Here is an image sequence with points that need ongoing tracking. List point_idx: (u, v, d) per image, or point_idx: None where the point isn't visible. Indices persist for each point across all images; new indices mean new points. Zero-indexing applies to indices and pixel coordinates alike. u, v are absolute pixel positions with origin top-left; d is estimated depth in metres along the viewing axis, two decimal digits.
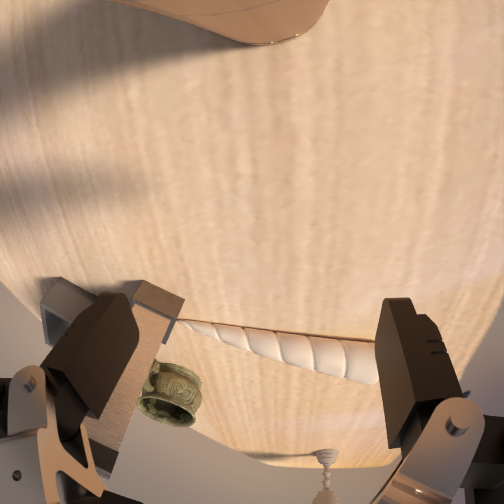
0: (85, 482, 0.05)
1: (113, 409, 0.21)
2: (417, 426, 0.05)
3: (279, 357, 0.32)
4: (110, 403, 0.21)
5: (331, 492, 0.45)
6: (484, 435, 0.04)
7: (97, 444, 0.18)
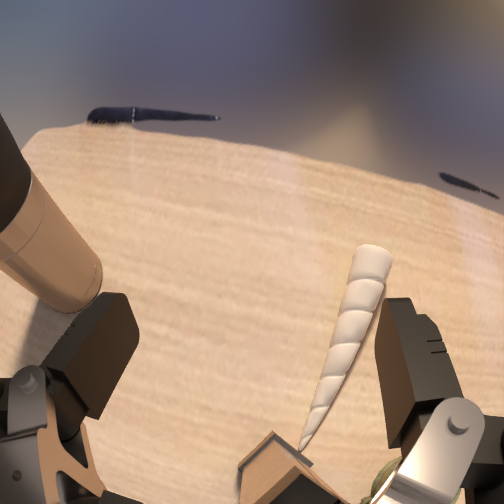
0: (85, 482, 0.05)
1: (269, 475, 0.15)
2: (417, 426, 0.05)
3: (348, 344, 0.30)
4: (263, 478, 0.15)
5: None
6: (484, 435, 0.04)
7: (269, 490, 0.11)
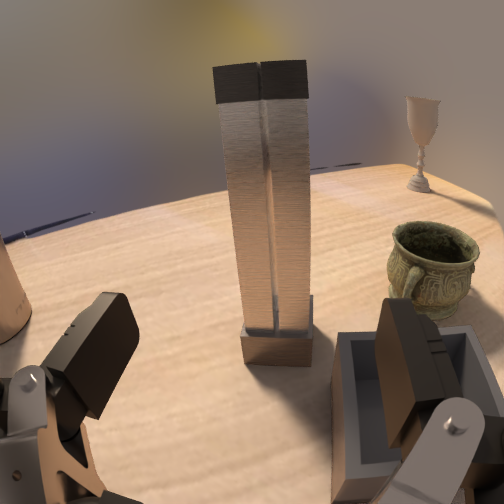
0: (85, 482, 0.05)
1: None
2: (417, 426, 0.05)
3: None
4: None
5: (414, 140, 0.51)
6: (484, 435, 0.04)
7: None
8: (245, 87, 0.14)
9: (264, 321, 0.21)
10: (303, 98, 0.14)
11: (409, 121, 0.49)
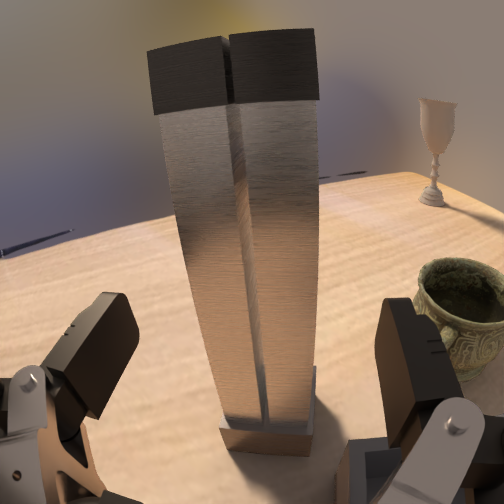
0: (85, 482, 0.05)
1: None
2: (417, 426, 0.05)
3: None
4: None
5: (428, 148, 0.45)
6: (484, 435, 0.04)
7: None
8: (201, 82, 0.08)
9: (249, 413, 0.15)
10: (309, 100, 0.07)
11: (423, 126, 0.43)
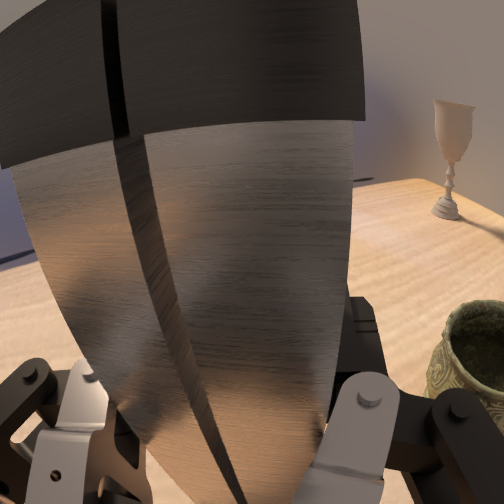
0: (130, 485, 0.05)
1: None
2: (335, 398, 0.06)
3: None
4: None
5: (443, 155, 0.40)
6: (405, 414, 0.05)
7: None
8: (60, 90, 0.03)
9: None
10: (335, 119, 0.02)
11: (438, 131, 0.38)
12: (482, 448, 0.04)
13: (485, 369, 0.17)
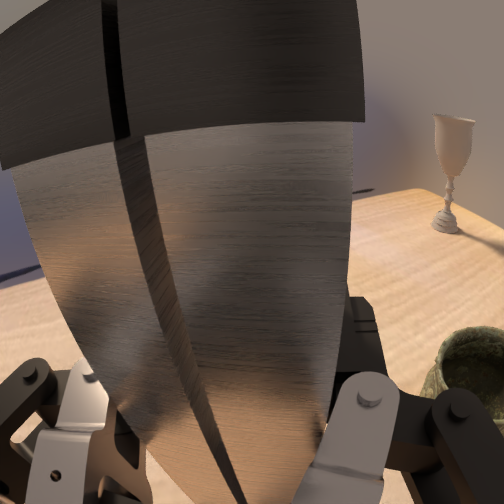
0: (131, 485, 0.05)
1: None
2: (335, 398, 0.06)
3: None
4: None
5: (442, 169, 0.41)
6: (405, 414, 0.05)
7: None
8: (62, 91, 0.03)
9: None
10: (335, 120, 0.02)
11: (438, 146, 0.39)
12: (482, 448, 0.04)
13: (476, 389, 0.18)
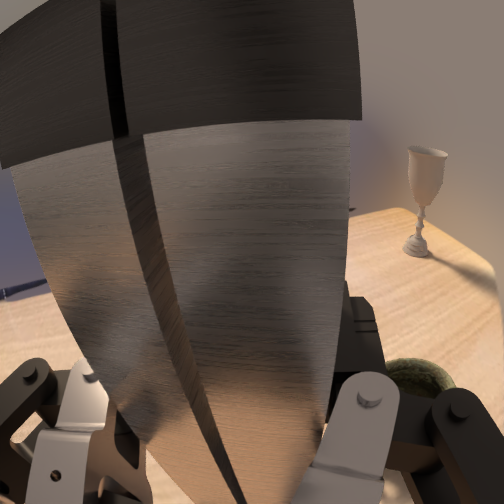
0: (131, 485, 0.05)
1: None
2: (335, 398, 0.06)
3: None
4: None
5: None
6: (405, 414, 0.05)
7: None
8: (61, 90, 0.03)
9: None
10: (332, 118, 0.02)
11: (410, 178, 0.45)
12: (482, 448, 0.04)
13: None
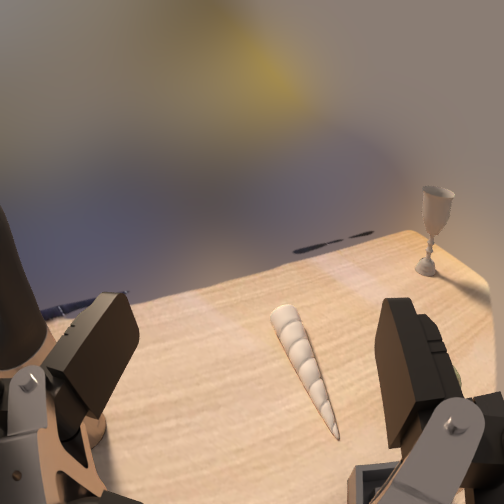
0: (85, 482, 0.05)
1: None
2: (417, 426, 0.05)
3: (308, 361, 0.41)
4: None
5: (426, 229, 0.58)
6: (484, 435, 0.04)
7: None
8: None
9: None
10: None
11: (423, 214, 0.56)
12: None
13: None
